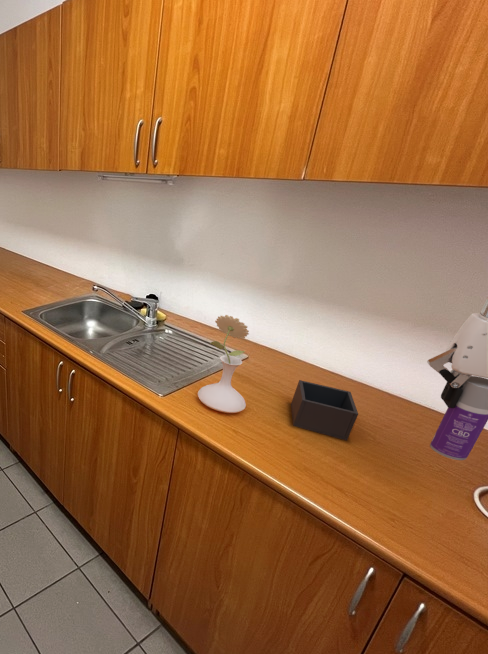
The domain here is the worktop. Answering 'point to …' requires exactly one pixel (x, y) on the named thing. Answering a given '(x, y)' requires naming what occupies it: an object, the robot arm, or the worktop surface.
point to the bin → (323, 409)
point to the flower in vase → (226, 371)
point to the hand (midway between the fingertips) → (470, 407)
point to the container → (463, 421)
